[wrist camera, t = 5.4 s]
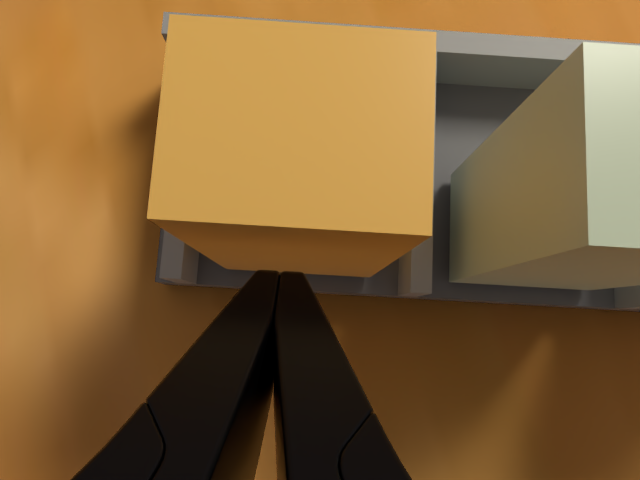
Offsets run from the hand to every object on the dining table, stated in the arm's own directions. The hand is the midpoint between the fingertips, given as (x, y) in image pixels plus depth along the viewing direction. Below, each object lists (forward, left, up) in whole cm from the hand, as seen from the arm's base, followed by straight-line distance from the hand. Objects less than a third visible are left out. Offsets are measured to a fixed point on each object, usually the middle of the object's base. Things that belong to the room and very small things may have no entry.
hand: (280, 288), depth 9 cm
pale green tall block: (+5, -5, -7) cm, 10 cm away
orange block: (+2, +1, -7) cm, 7 cm away
